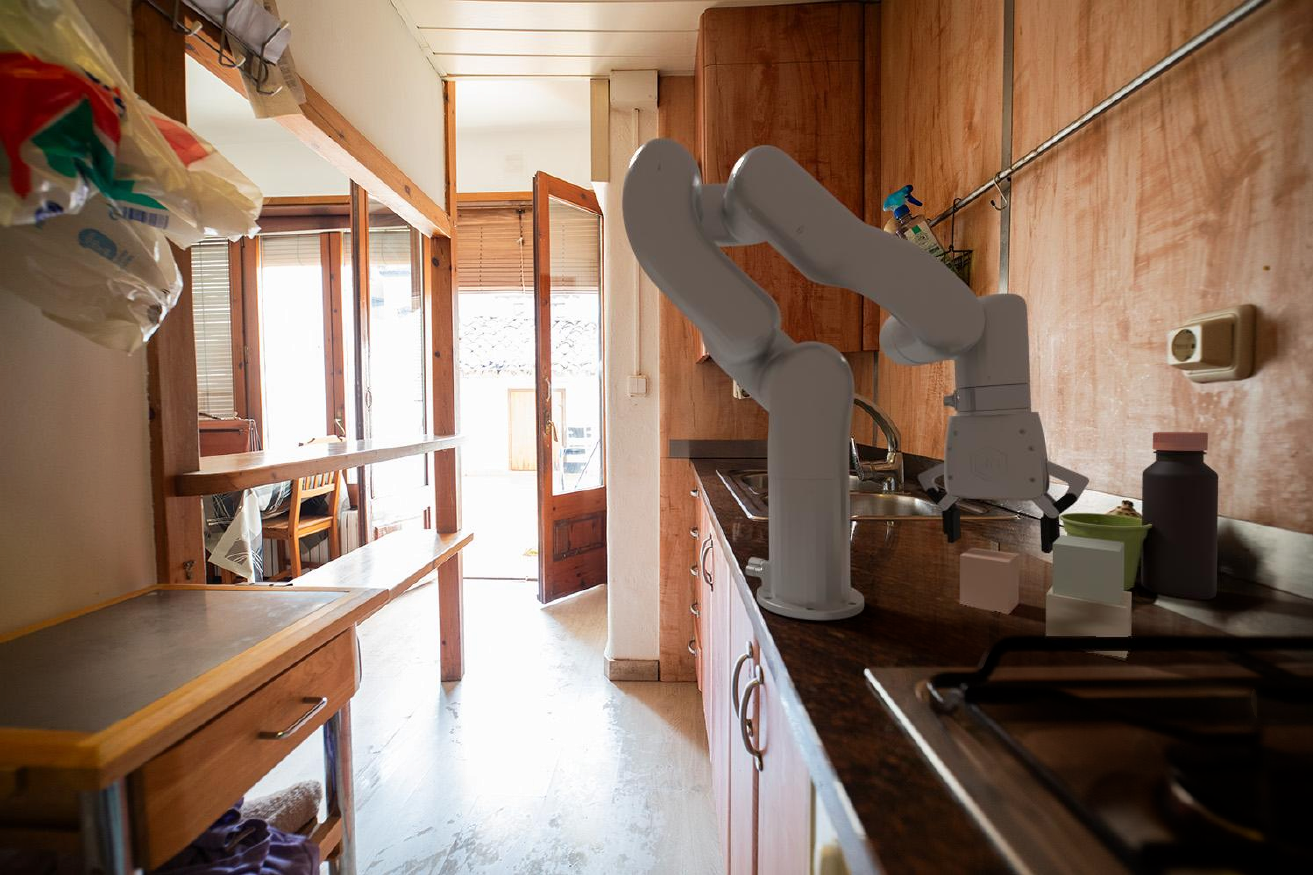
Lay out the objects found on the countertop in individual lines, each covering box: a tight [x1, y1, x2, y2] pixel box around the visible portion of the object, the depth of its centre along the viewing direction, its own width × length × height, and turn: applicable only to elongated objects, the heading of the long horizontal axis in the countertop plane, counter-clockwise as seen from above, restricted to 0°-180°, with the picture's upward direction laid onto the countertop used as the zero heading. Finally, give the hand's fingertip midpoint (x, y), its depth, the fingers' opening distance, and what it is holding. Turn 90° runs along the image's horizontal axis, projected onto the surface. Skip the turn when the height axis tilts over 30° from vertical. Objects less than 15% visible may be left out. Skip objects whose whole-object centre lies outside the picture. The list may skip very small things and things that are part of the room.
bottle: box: [1140, 431, 1219, 601], centre depth 67 cm, size 7×7×20 cm
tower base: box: [1045, 586, 1132, 658], centre depth 53 cm, size 6×6×5 cm
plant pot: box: [1059, 512, 1152, 591], centre depth 71 cm, size 9×9×9 cm
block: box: [959, 547, 1020, 615], centre depth 65 cm, size 5×5×6 cm
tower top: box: [1051, 534, 1124, 605], centre depth 53 cm, size 5×5×5 cm
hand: (998, 545), depth 64 cm, fingers open, 9 cm apart
